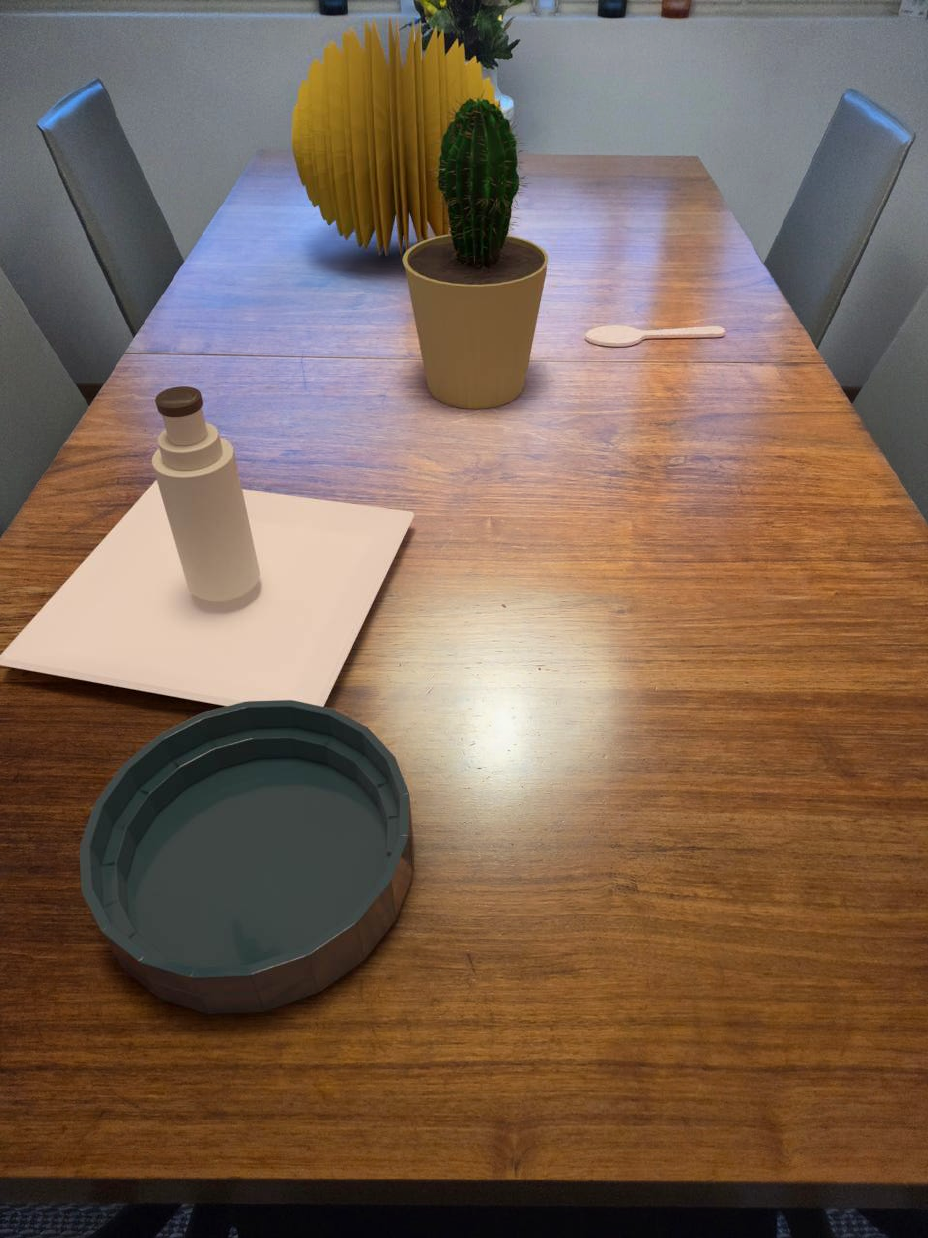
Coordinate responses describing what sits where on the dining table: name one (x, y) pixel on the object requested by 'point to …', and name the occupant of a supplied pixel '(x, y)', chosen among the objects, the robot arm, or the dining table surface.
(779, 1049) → the dining table surface
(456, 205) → the potted cactus
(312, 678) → the beige square board
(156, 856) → the bowl
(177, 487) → the bottle
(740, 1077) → the dining table surface
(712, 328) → the spoon
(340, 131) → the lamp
